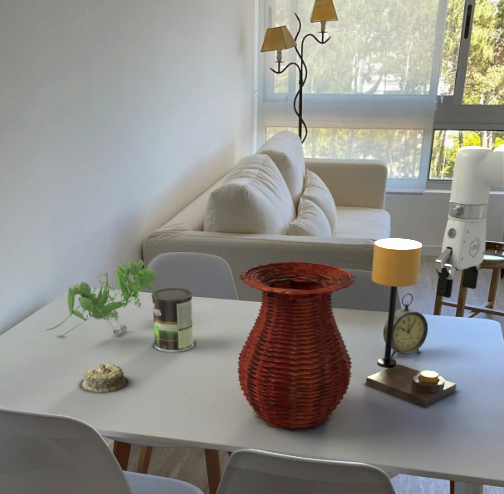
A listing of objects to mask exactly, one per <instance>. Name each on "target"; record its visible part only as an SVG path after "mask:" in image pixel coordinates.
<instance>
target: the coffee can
mask: <svg viewBox="0 0 504 494" xmlns="http://www.w3.org/2000/svg"><path fill="white" fill-rule="evenodd" d="M151 300H152V315H153V331H154V332H153V334H154V335H153V336H154V348H155V349H157V350H159V351H161V352H167V353H175V352H176V353H177V352H178V353H179V352H183V351H187V350H190V349H192V348H193V347H194V321H193V320H194V319H193V318H194V317H193V292H192V291H191V290H189V289H186V288H179V287H165V288H161V289H157V290H155V291H153V292H152V293H151Z"/></svg>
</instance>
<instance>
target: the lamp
mask: <svg viewBox="0 0 504 494" xmlns="http://www.w3.org/2000/svg"><path fill="white" fill-rule="evenodd" d="M422 247H423V245H422V243H421V242H419V241H416V240H412V239H406V238H405V239H404V238H383V239H379V240H376V241H374V245H373V257H372V269H371V270H372V271H371V281H372V282H373V283H375V284H378V285H382V286H386V287H390V293H389V301H388V302H389V304H388V313H387V320H388V323H387V334H386V343H385V345H384V357H381V358H379V359H377V360H376V361H377V362H376V364H377V366H378V367H380V368H383V369H387V368H393V367H395V366H396V365H397V364H398V363H397V360H396V359H394V358H391V354H392V349H391V348H392V337H393V327H394V316H395V312H396V306H397V305H396V304H397V296H398V287H401V288H402V287H411V286H414V285H417V284H418V282H419V275H420V265H421V259H422V249H423V248H422Z"/></svg>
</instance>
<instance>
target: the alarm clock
mask: <svg viewBox="0 0 504 494" xmlns="http://www.w3.org/2000/svg"><path fill="white" fill-rule="evenodd" d="M408 295H409V296H410V297H411V301H410V302H409V303H404V302H403V301H404V299H405V297H406V296H408ZM413 300H414V296H413V294H412V293H409V292H408V293H405V294H404V295H402V298H401V304H402V306H403V307H404V308H399V309H397V310H395V316H394V327H393V337H392V348H391V359H393V357H394V356H395V354H396V353H398V354H401V355H410V354H413V353H415V352H417V354H420V353H421V351H420V350H419V349H420V348H421V347H422V346H423V344H424V343H425V341H426V339H427V336H428V332H429V326H428V321H427V319H426V317H425V316H424V314H423V313H420V312H418V311H415V310H413V309H410V308H409V306H410V305H412V303H413ZM387 323H388V319H386V321H385V323H384V326H383V332H382V334H383V335H382V336H383V341H384V343H385V344H386V334H387Z"/></svg>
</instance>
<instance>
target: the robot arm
mask: <svg viewBox="0 0 504 494" xmlns="http://www.w3.org/2000/svg"><path fill="white" fill-rule="evenodd" d="M452 172H453V173H452V180H451V181H452V182H451V189H450V197H449V205H448V214H447V218H448V219H447V223H446V227H445V230H444V235H443V240H442V245H441V254H440V255H439V256H438V257H436V258H435V259H436V260H435V266H436V269H435V271H436V273H437V278H438V280H437V288H436V296H438V297H443V298H447V299H451V297H452V293H453V286H454V285H453V284H454V279H453V277H454V275H455V272H456V270H459V271H463V275H462V283H461V286H462V287H463V288H468V289H471V290H475V289H477V284H478V277H479V271H480V270H481V264H482V263H483V261H484V258H485V252H486V251H487V250H486V249H487V247H486V240H487V212H488V207H489V200H490V198H489V197H490V192H491V186H492V187H497V188H504V143H503V144H500V145H499V146H498V147H496V148H494V150H493V149H491V148H489V147H484V146H464V147H460V148H459V149H458V150H457V151H456V154H455V157H454V165H453V171H452ZM448 269H449V271H448Z"/></svg>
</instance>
